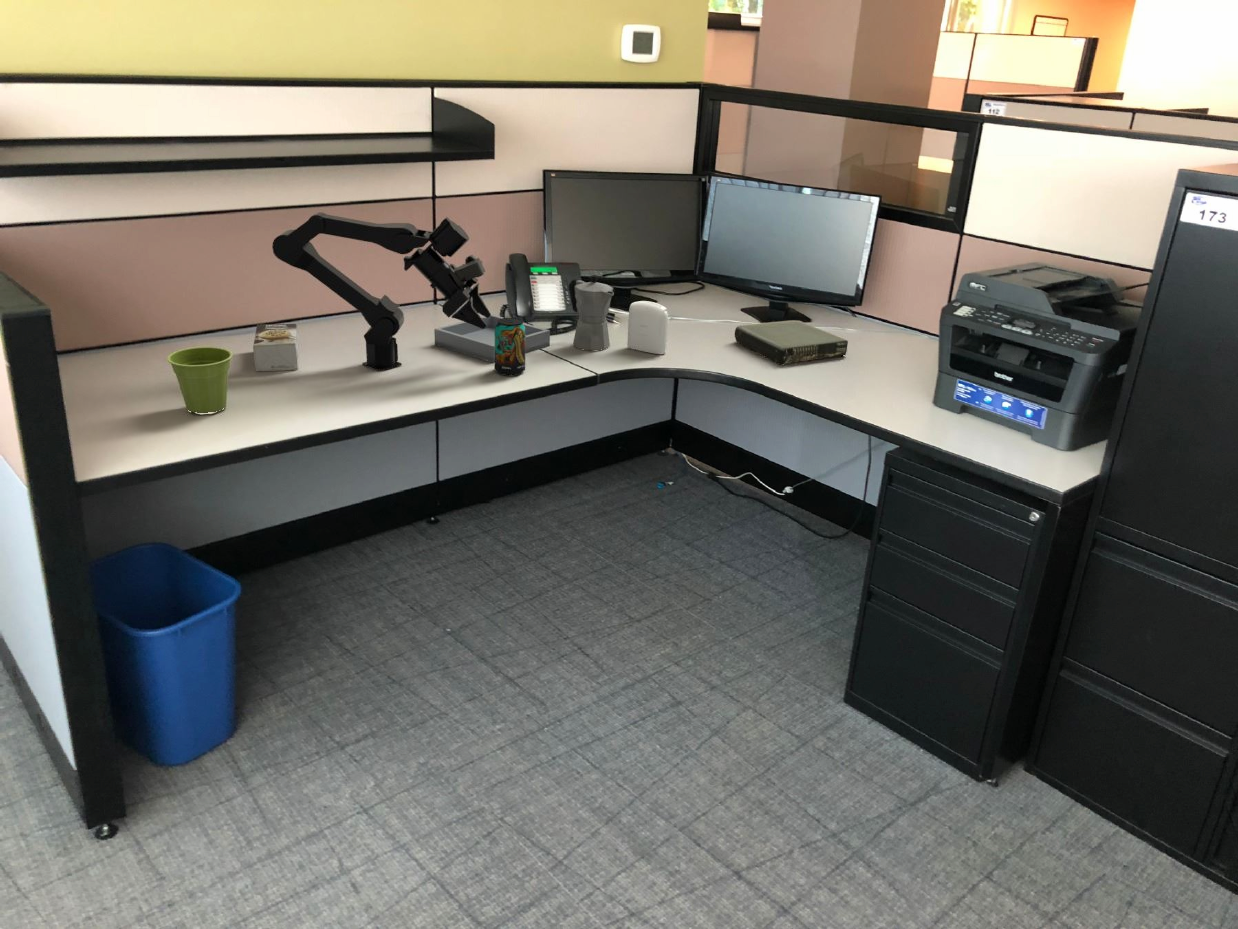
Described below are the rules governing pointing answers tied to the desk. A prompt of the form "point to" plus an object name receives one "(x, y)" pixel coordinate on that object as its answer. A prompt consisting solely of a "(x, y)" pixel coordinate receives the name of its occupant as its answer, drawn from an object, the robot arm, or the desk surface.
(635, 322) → the photo printer
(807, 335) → the network switch
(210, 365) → the plant pot
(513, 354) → the beverage can
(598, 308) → the coffeepot
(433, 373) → the desk surface
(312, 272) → the robot arm
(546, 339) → the bin
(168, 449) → the desk surface
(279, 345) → the coffee box
